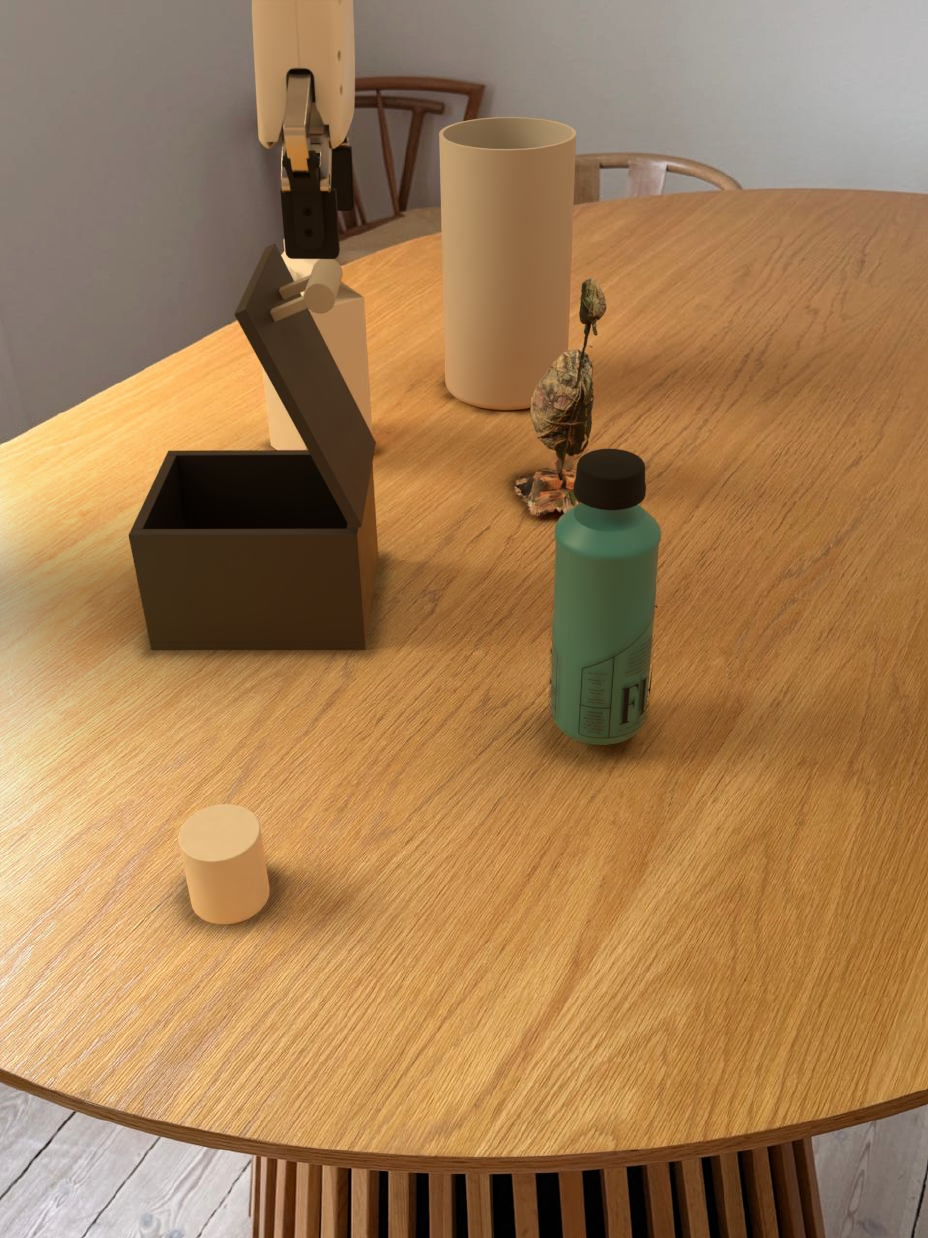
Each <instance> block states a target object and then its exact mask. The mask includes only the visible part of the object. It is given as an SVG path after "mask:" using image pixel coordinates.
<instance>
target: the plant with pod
mask: <svg viewBox="0 0 928 1238" xmlns="http://www.w3.org/2000/svg"><path fill="white" fill-rule="evenodd" d="M580 290H581V291H580V292H581V294H580V297H579V299H580V303H579V304H580V306H579V312H578V315H579V317H578V318H579V322H580V323H581V324H582V325H584V328H583V334H584V336H583V337H584V338H583V346H582V349H581V350H580V349H570V350H568V351H566V352H564V353H563V354H562V355H560V356H559V358H558V359H557V360H556V361H554V362H553V364H552V365H551V366H550V368H549V369H548V371H547V372H546V373H545V376H544V377H543V378H542V379H541V380H540V381H539V382H538V385H537V387H536V389H535V390H534V393H533V396H532V398H531V408H530V419H531V421H532V425H533V428H534V431H535V433H536V435H537V436H536V438H537V439H538V440H539V441H540V442H541V443H542V444H543V446H545V447H546V448H548V449H549V450H552V451H554V452H555V459H554V460H555V461H554V467H555V469H550V468H548V467H544V468H543V467H542V468H540V469H538V470H536V471H535V472H534V473H529V474H527V475H526V474H524V475H519V476H518V475H516V476H515V477H516V478H515V481H514V482H515V483H514V484H515V486H513V488H514V492H515V495H518V496H519V497H522V499H521V501H522V502H524V503H527V507H529V508H528V510H529V511H530V512H529V514H530V515H533V516H538V517H540V516H541V514H542V515H546V514H548V513H555V510H556V511H558V513H560V514H561V512H563V514H564V513H566V512H567V511H568V510H570V509H571V508H572V507H574V506H575V505H577V504H579V503H580V501H578V500H577V499H576V497H575V496H574V492H573V491H574V481H575V478H576V470H577V469H574V467H575V465H576V464H577V463H578V461H579V459H580V458H581V457H582V456H583V453H584V452H585V450H586V448H587V446H588V445H589V438H590V436H591V433H592V427H593V420H592V419H593V418H592V417H593V416H592V412H593V408H594V401H595V399H594V398H595V396H594V388H593V386H594V382H593V374H594V366H593V362H592V361H591V360H590V358H589V354H588V353H587V352H585V351H586V348H587V347H588V348H593V347H594V346H593V345H588V340H589V336H590V332H591V331H592V333H593V335H594V336H595V337H597V336H598V334H599V333H598V329H597V325H598V324H597V322H598V321H600V320H601V319H602V318H603V316H605V313H606V311H607V306H608V305H607V299H606V296H605V293H604V292H603V290H602V288H601V286H600V285H599V283H598V282H597V281H596V279H595V278H594V277H590V278H589V279H585V280H584V281H583V282H582V283H581V289H580ZM591 328H592V330H591ZM587 345H588V346H587Z"/></svg>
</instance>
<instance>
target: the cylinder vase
mask: <svg viewBox="0 0 928 1238" xmlns="http://www.w3.org/2000/svg"><path fill="white" fill-rule="evenodd" d="M438 133H439V134H438V138H439V139H438V140H439V142H438V143H439V180H440V184H439V185H440V220H441V221H440V223H441V224H440V225H441V228H440V229H441V264H442V265H441V266H442V305H443V306H442V307H443V311H442V312H443V339H444V340H443V349H444V382H445V386H446V388H447V390H448V391H449V393H450V395H452V396H453V397H454V398H456V399H457V400H458V401H461V402H462V403H464V404H466V405H469V406H472V407H476V408H481V409H484V410H485V409H486V410H493V411H494V410H495V411H517V410H526V409H531V398H532V396H533V393H534V390H535V389H536V387H537V385H538V382H539V381H540V380H541V379H542V378H543V377H544V376H545V373H546V372H547V371H548V369H549V368H550V366H551V365H552V364H553V362H554V361H556V360H557V359H558V358H559V356H560V355H562V354H563V353H564V352H566V351H569V340H570V339H569V337H570V311H571V310H570V309H571V287H572V286H571V285H572V284H571V283H572V259H573V258H572V257H573V255H572V253H573V232H574V231H573V229H574V206H575V205H574V203H575V201H574V200H575V180H576V179H575V177H576V175H575V174H576V147H577V130H576V129H574V128H573V127H572V126H570V125H569V124H565V123H563V122H559V121H555V120H550V119H543V118H537V117H536V118H535V117H522V116H521V117H519V116H499V117H484V118H483V117H482V118H475V119H469V120H464V121H463V120H462V121H459V122H455V123H452V124H449V125H447V126H445V127H443V128H442V129H441V130H439V132H438Z"/></svg>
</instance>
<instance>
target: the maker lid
mask: <svg viewBox="0 0 928 1238" xmlns="http://www.w3.org/2000/svg"><path fill="white" fill-rule="evenodd" d="M281 255H282V253H281V252H280V250H279V248H278V246H277V244H276V243H273V244H271V245H268V246H266V247H264V249H263V252H262V254H261V256H260V258H259V260H258V262H257V264H256V267H255V268H254V271H253V273H252V275H251V278H250V279H249V281H248V284H247V285H246V288H245V290H244V292H243V294H242V296H241V298H240V301H239V303H238V305H237V307H236V309H235V311H234V317H235V319H236V321H237V322H238V324H239V326H240V328H241V330H242V332H243V334H244V335H245V337H246V340H247V341H248V342H249V345H250V346H251V349H252V350H253V352H254V354H255V356H256V358H257V359H258V361H259V363H260V364H261V367H262V366H263V368H264V370H265V372H266V374H267V376H268V377H269V379H270V381H271V383H272V385H273V387H274V388H275V390H276V392H277V394H278V396H279V398H280V399H281V401H282V403H283V405H284V407H285V409H286V411H287V412H288V414H289V416H290V418H291V420H292V422H293V423H294V425H295V427H296V429H297V431H298V433H299V434H300V436H301V438H302V440H303V442H304V444H305V445H306V447H307V449H308V451H309V453H310V455H311V456H312V458H313V460H314V462H315V464H316V466H317V468H318V469H319V471H320V473H321V475H322V477H323V479H324V480H325V482H326V484H327V486H328V488H329V490H330V491H331V493H332V495H333V497H334V499H335V501H336V502H337V504H338V506H339V508H340V510H341V512H342V513H343V515H344V517H345V519H346V521H347V523H348V525H349V526H350V528H351V530H353V529H356V528H359V527H361V526H362V522H363V516H364V510H365V504H366V498H367V492H368V486H369V480H370V474H371V468H372V462H374V455H375V450H376V443H377V441H376V440H375V439H376V438H374V436H372V435H373V433H372V434H371V432H370V430H369V428H368V426H367V424H366V422H365V420H364V418H363V416H362V414H361V412H360V410H359V408H358V406H357V404H356V402H355V400H354V398H353V396H352V394H351V392H350V390H349V388H348V386H347V384H346V382H345V380H344V378H343V376H342V374H341V372H340V370H339V368H338V366H337V364H336V363H335V361H334V359H333V357H332V355H331V353H330V351H329V349H328V347H327V345H326V343H325V341H324V339H323V337H322V335H321V333H320V331H319V329H318V327H317V325H316V323H315V321H314V319H313V317H312V315H311V313H310V311H309V309H310V310H311V311H312V312H315V313H320V314H321V313H326V312H328V311H330V310H331V309H332V308H333V306H334V303H335V300H336V297H337V293H338V290H339V286H340V283H341V281H342V280H343V275H344V274H343V273H344V272H343V268H342V266H341V264H340V263H339V262H338V261H337V260H336V259H320V260H318V261H317V262H316V263H315V264H314V266H313V269H312V272H311V275H309V276H306V277H304V278H301V279H299V280H297V281H294V280H293V278H292V276H291V274H290V272H289V270H288V268H287V266H286V264H285V262H284V260H283V258H282V256H281ZM303 291H305V292H304V296H302V295H301V292H303Z"/></svg>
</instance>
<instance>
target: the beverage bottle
mask: <svg viewBox="0 0 928 1238" xmlns="http://www.w3.org/2000/svg"><path fill="white" fill-rule="evenodd" d="M575 470H576V478H575V481H574V491H573V492H574V496H575V497H576V499H577V500H578V501H580V503H579V504H577V505H575V506H574V507H572V508H571V509H570V510H568V511H567V512H566V513H564V512H563V514H562V515H561V516H560V517H559V518H558V520H557V522H556V523H555V526H554V539H555V540H554V541H555V543H554V544H555V545H554V546H555V548H554V578H553V579H554V582H553V605H552V608H551V613H552V617H551V616H550V617H549V618H550V619H551V618H552V623H551V625H552V627H551V632H549V636H551V638H550V640H551V646H550V644H549V648H550V649H549V652H550V654H549V655H548V658H549V662H550V663H549V668H548V669H549V671H548V672H549V674H550V675H549V678H548V681H549V682H548V689H549V690H548V700H547V701H548V703H550V704H548V708H549V709H548V712H549V713H550V716H551V717H552V719H553V722H554V724H555V725H556V727H557V728H558V729H559V731H560V732H562V733H563V735H565V736H567V737H569V738H571V739H572V740H574V741H577V742H581V743H583V744H588V745H595V746H604V745H605V746H606V745H607V746H608V745H615V744H619V743H622V742H625V741H627V740H629V739H631V738H634V736H636V735H637V734H638V732H640V730H641V729H642V727H643V725H644V724H645V722H646V721H647V719H648V717H649V715H648V714H649V711H650V708H649V707H650V703H649V702H650V700H651V697H650V695H651V691H652V690H651V689H652V678H653V671H651V669H653V667H654V664H652V665H651V663H652V659H653V658H654V651H655V650H654V649H653V648H654V647H655V646H654V645H655V644H654V643H655V638H654V634H653V633H654V626H655V625H654V624H655V613H656V611H657V608H658V607H659V606H658V604H656V603H658V600H656V599H657V582H658V583H660V582H659V579H658V577H659V575H658V563H659V549H660V543H661V539H662V529H661V526H660V524H659V522H658V521H657V520H656V518H655V517H653V515H652V514H650V512H648V511H647V510H646V509H644V508H643V507H642V506H641V505H640V504H641V503H642V502H643V501H644V500H645V499H646V494H647V484H646V464H645V462H644V460H643V459H642V458H641V457H640V456H638V455H637V454H636V453H634V452H631V451H628V450H625V449H618V448H600V449H595V450H594V449H593V450H591V451H589V452H585V453H584V454H582V455H581V456H580V458H579V459H578V460H577V462H576V469H575ZM656 601H657V602H656ZM650 671H651V672H650ZM650 673H651V674H650ZM646 716H647V717H646Z"/></svg>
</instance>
